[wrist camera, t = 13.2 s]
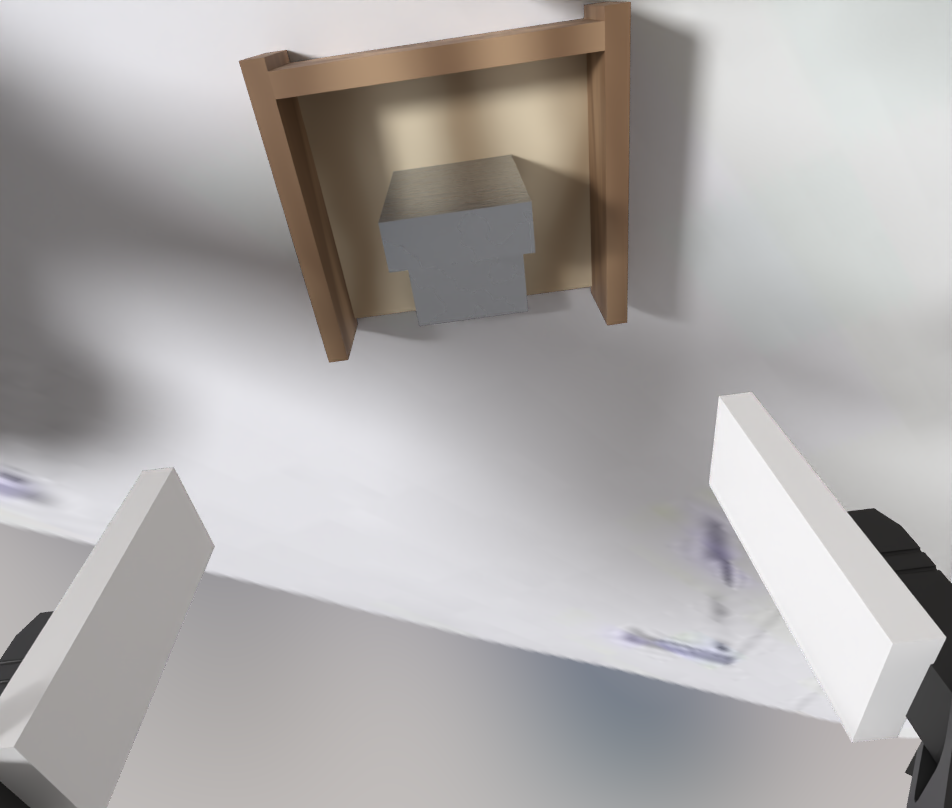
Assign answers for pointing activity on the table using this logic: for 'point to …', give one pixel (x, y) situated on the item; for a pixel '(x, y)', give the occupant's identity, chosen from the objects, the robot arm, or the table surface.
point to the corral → (453, 153)
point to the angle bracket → (460, 237)
